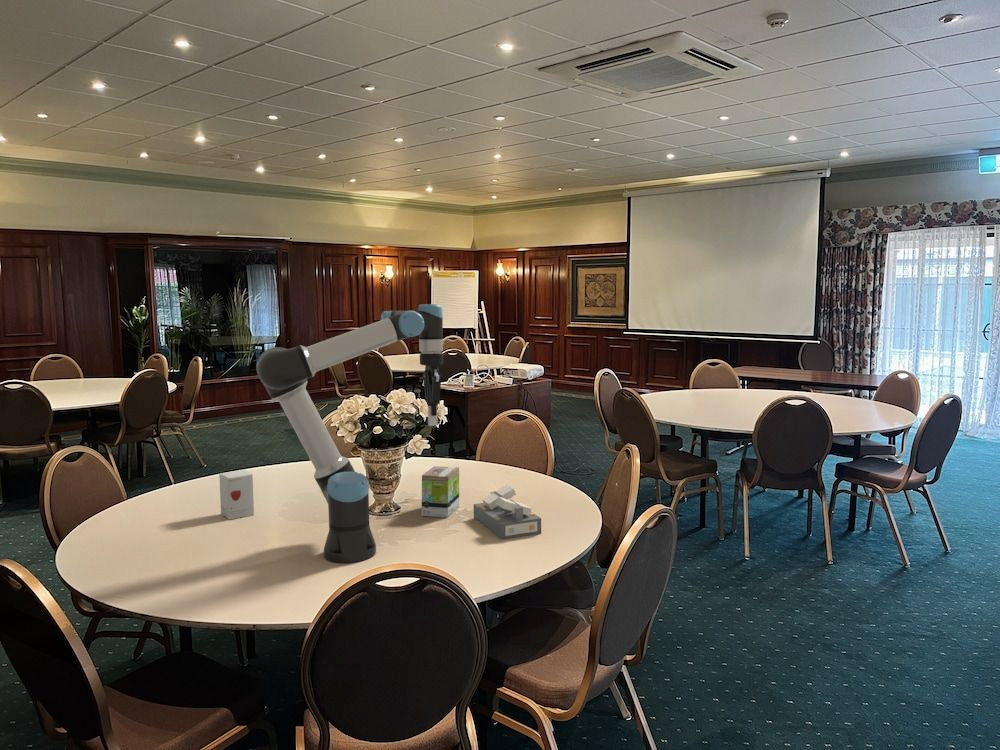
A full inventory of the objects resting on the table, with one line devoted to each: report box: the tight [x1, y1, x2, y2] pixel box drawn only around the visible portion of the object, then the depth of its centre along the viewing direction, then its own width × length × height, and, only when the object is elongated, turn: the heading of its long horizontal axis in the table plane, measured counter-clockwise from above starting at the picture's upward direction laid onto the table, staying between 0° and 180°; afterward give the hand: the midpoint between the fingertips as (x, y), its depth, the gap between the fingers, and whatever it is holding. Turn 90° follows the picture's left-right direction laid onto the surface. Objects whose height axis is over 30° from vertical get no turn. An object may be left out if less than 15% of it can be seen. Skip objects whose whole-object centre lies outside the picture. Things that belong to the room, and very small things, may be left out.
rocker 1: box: [481, 484, 517, 510], centre depth 235 cm, size 10×6×3 cm, turn 113°
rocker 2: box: [495, 497, 533, 516], centre depth 224 cm, size 10×6×3 cm, turn 113°
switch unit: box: [473, 491, 542, 540], centre depth 230 cm, size 14×24×9 cm, turn 23°
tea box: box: [421, 465, 460, 518], centre depth 247 cm, size 15×10×15 cm, turn 168°
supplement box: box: [218, 469, 255, 520], centre depth 245 cm, size 9×9×15 cm
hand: (432, 425), depth 224 cm, fingers closed
